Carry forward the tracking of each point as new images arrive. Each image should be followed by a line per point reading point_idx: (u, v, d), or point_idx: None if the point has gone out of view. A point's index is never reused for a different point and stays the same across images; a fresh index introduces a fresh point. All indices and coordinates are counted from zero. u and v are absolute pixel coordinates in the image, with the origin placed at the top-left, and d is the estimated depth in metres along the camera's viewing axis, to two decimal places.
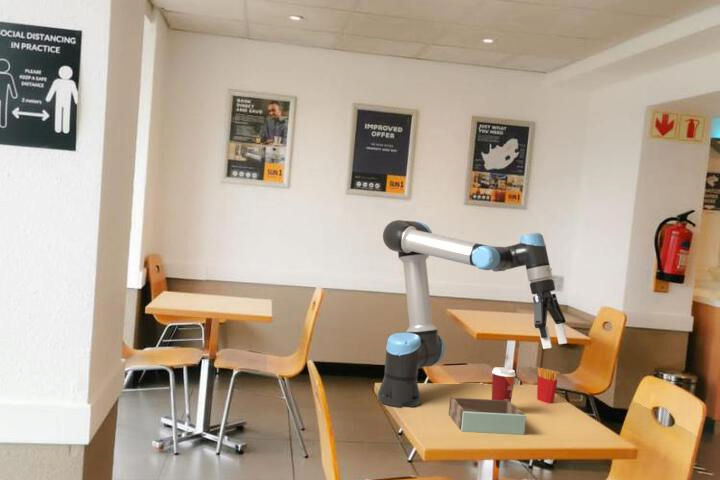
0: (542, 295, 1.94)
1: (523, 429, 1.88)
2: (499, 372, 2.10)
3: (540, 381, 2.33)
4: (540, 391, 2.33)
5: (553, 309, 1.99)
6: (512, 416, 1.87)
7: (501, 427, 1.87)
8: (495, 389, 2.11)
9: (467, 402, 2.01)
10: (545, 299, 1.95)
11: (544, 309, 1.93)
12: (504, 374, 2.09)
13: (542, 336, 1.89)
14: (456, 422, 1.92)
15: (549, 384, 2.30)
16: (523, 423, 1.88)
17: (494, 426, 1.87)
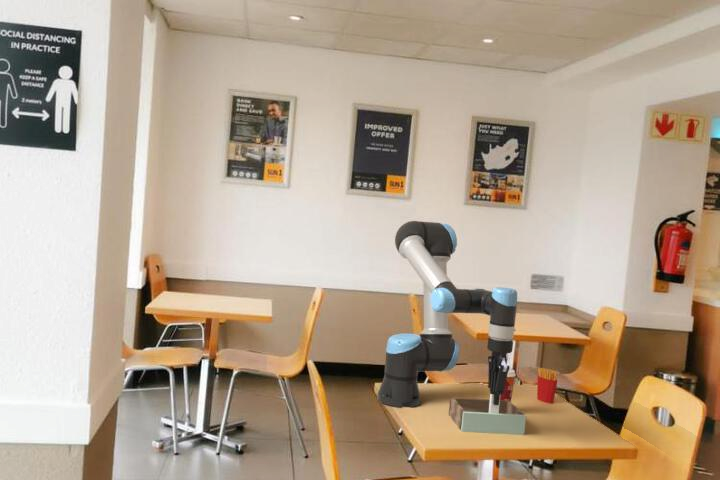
0: (506, 359, 1.84)
1: (523, 429, 1.88)
2: None
3: (540, 381, 2.33)
4: (540, 391, 2.33)
5: None
6: (512, 416, 1.87)
7: (501, 427, 1.87)
8: None
9: (467, 402, 2.01)
10: None
11: None
12: None
13: (495, 403, 1.86)
14: (456, 422, 1.92)
15: (549, 384, 2.30)
16: (523, 423, 1.88)
17: (494, 426, 1.87)
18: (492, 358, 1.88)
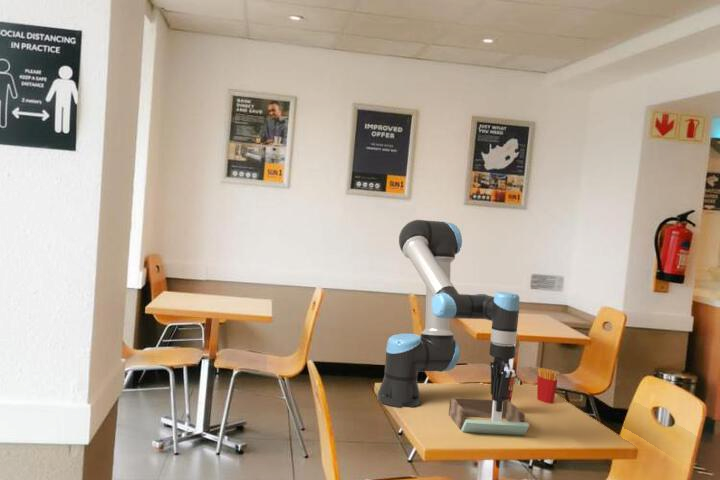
0: (508, 365, 1.81)
1: (524, 433, 1.87)
2: None
3: (540, 381, 2.33)
4: (540, 391, 2.33)
5: None
6: (515, 426, 1.84)
7: (502, 432, 1.86)
8: None
9: (467, 402, 2.01)
10: None
11: None
12: None
13: (498, 410, 1.83)
14: (456, 422, 1.92)
15: (549, 384, 2.30)
16: (525, 430, 1.86)
17: (495, 431, 1.86)
18: (494, 364, 1.86)
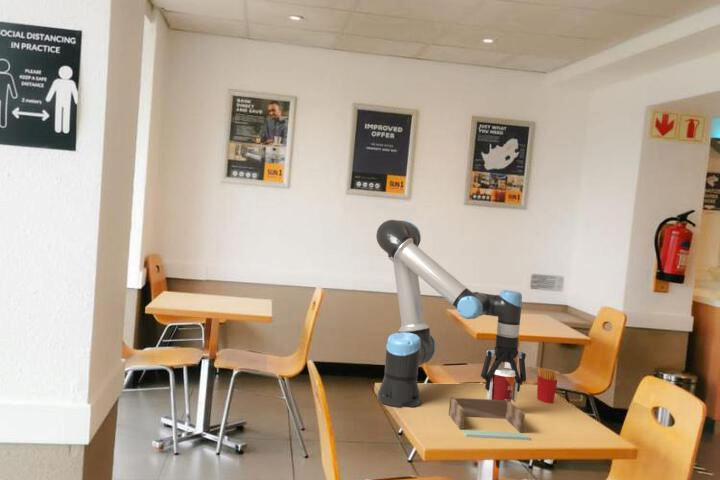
0: None
1: None
2: (499, 372, 2.10)
3: (540, 381, 2.33)
4: (540, 391, 2.33)
5: None
6: None
7: None
8: (495, 389, 2.11)
9: (467, 402, 2.01)
10: None
11: None
12: (504, 374, 2.09)
13: None
14: (456, 422, 1.92)
15: (549, 384, 2.30)
16: None
17: None
18: (505, 355, 2.11)
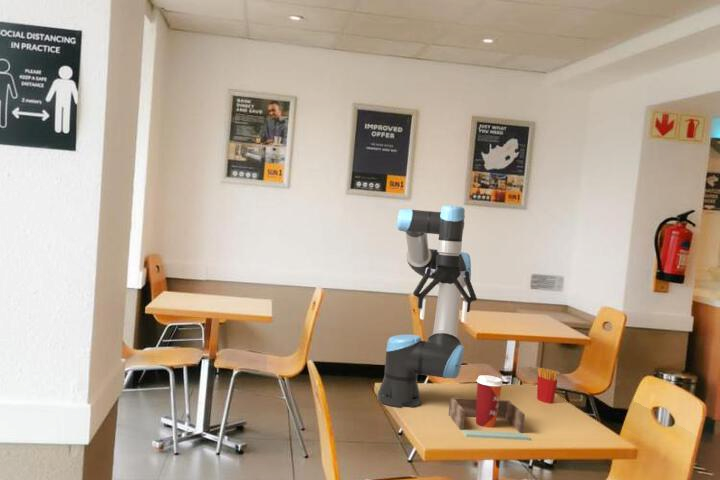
0: None
1: None
2: (484, 381, 1.91)
3: (540, 381, 2.33)
4: (540, 391, 2.33)
5: None
6: None
7: None
8: (480, 400, 1.92)
9: (467, 402, 2.01)
10: None
11: None
12: (490, 383, 1.91)
13: None
14: (456, 422, 1.92)
15: (549, 384, 2.30)
16: None
17: None
18: (445, 276, 1.93)
